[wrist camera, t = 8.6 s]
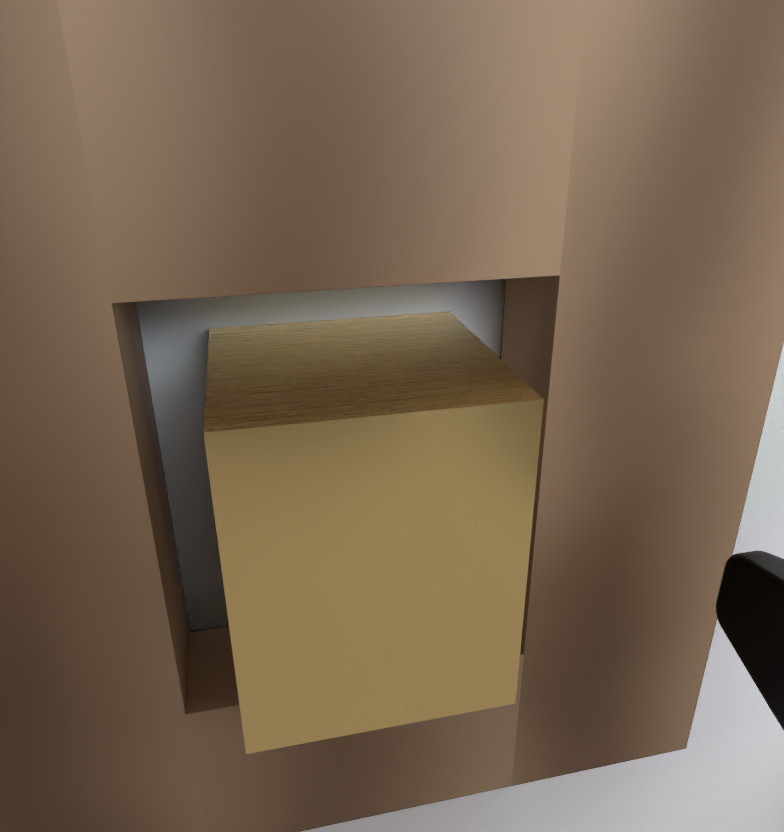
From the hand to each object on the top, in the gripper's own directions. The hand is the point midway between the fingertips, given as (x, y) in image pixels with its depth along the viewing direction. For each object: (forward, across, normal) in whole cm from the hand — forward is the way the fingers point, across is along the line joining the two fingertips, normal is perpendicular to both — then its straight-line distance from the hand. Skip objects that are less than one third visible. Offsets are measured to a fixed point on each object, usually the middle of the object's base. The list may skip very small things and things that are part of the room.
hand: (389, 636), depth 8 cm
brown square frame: (+5, 0, 0) cm, 5 cm away
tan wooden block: (+5, 0, 0) cm, 5 cm away
